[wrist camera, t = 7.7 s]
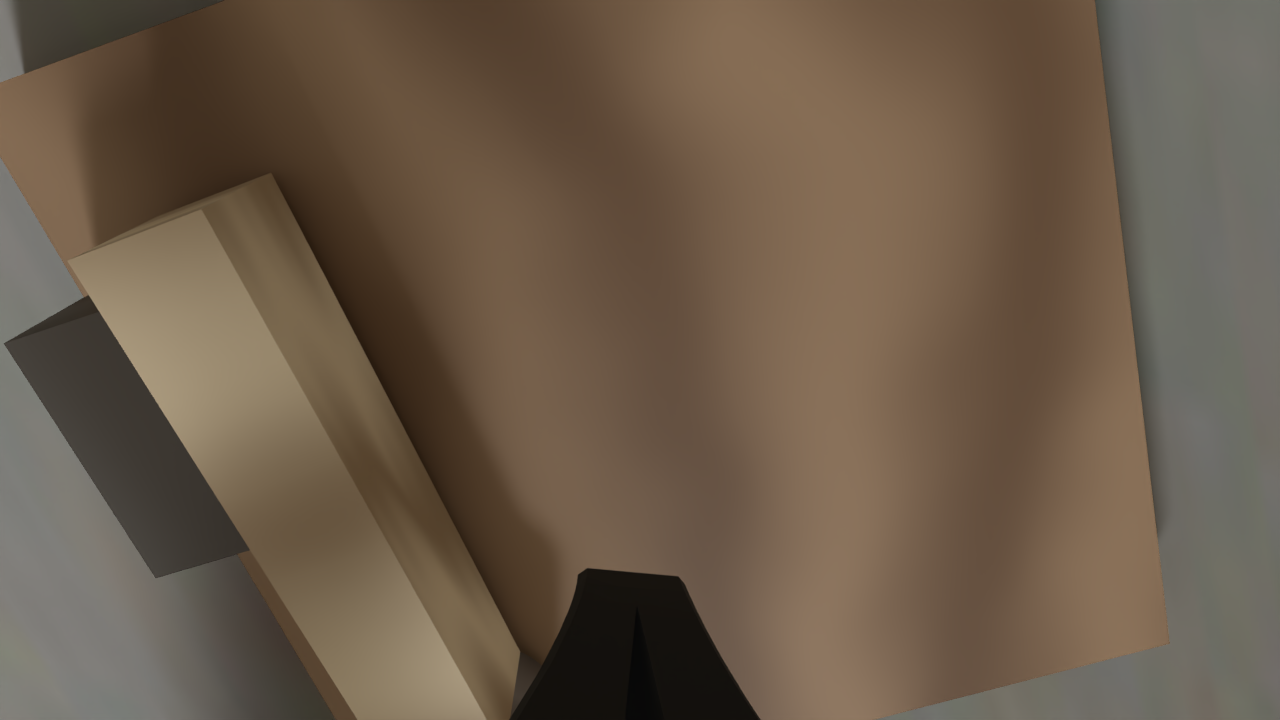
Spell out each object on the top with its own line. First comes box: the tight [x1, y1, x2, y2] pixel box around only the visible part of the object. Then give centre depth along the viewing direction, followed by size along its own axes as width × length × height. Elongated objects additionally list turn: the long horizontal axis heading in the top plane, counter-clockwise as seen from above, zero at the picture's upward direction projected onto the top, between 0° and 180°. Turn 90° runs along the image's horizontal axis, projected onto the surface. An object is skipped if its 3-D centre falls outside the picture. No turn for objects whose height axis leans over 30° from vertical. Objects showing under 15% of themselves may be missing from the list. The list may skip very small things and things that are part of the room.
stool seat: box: [0, 0, 1170, 720], centre depth 18 cm, size 20×20×5 cm
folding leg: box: [67, 173, 542, 720], centre depth 18 cm, size 15×3×3 cm, turn 20°
